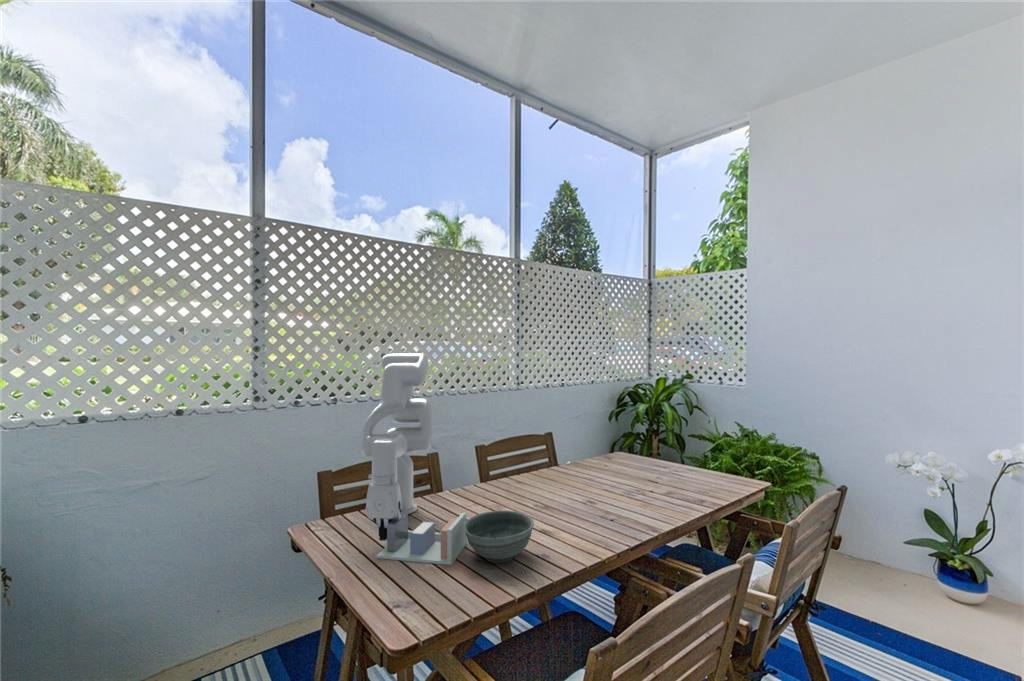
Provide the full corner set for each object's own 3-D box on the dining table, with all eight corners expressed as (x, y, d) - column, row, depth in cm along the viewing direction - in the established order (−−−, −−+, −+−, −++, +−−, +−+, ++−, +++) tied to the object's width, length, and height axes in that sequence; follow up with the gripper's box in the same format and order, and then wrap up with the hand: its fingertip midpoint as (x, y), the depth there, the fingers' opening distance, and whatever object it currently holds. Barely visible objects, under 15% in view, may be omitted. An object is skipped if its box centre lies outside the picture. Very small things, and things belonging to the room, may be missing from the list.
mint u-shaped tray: (376, 558, 130) (376, 524, 130) (398, 538, 143) (398, 507, 144) (451, 565, 125) (451, 530, 125) (466, 544, 139) (466, 512, 139)
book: (410, 553, 130) (410, 533, 131) (422, 541, 139) (422, 521, 139) (422, 555, 130) (422, 534, 130) (434, 542, 138) (434, 522, 138)
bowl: (544, 567, 123) (544, 531, 124) (471, 578, 117) (470, 540, 118) (521, 537, 143) (521, 506, 144) (458, 546, 137) (457, 513, 138)
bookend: (387, 551, 132) (387, 523, 132) (400, 538, 141) (400, 513, 141) (394, 551, 131) (394, 524, 131) (408, 539, 140) (408, 513, 140)
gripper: (356, 481, 135) (355, 541, 135) (401, 484, 132) (401, 546, 132) (369, 474, 143) (368, 532, 142) (411, 477, 139) (412, 535, 139)
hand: (384, 538), depth 137 cm, fingers closed
